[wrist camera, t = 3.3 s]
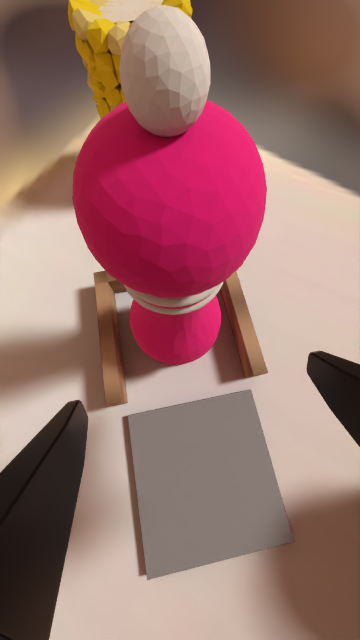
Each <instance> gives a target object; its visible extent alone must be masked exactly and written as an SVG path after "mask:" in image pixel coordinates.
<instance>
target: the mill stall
mask: <svg viewBox="0 0 360 640" xmlns="http://www.w3.org/2000/svg"><path fill="white" fill-rule="evenodd" d="M94 281H95V292H96V303H97V314H98V325H99V336H100V347H101V358H102V369H103V380H104V391H105V402H106V407H107V406H115V405H119V404H124V403H128V401H127V392H126V384H125V376H124V367H123V359H122V351H121V342H120V334H119V326H118V317H117V309H116V301H115V293H118V292H123V291H127V290H126V288H125V286H124V284H122V283H121V282H119V281H118V280H116V279H115V278H113V277H112V276H110V275H109V274H108V273H107V272H106V271H101V272H96V273H94ZM221 292H222V295H223V299H224V303H225V306H226V310H227V313H228V317H229V320H230V324H231V327H232V331H233V335H234V338H235V342H236V345H237V349H238V352H239V356H240V359H241V363H242V367H243V370H244V374H245V377H246V378H249V377H254V376H258V375H262V374H266V373H268V371H267V368H266V365H265V362H264V358H263V355H262V352H261V349H260V346H259V343H258V339H257V336H256V333H255V330H254V327H253V323H252V320H251V317H250V314H249V311H248V307H247V304H246V301H245V298H244V295H243V291H242V288H241V285H240V282H239V279H238V276H237V272H236V271H235V272H234V273H233V274H232V275H231V276H230V277H229V278H228V279H226V280H225V281H224V282H223V285H222V287H221Z"/></svg>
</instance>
